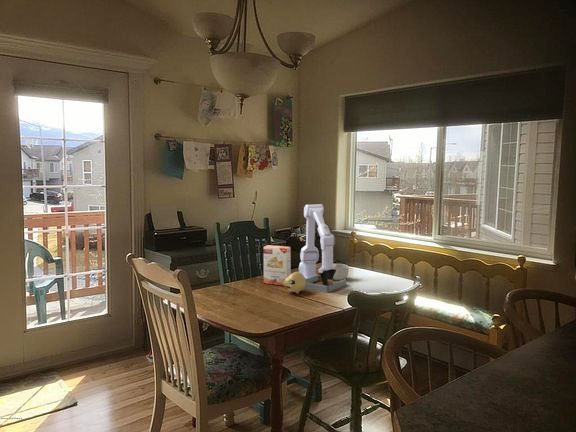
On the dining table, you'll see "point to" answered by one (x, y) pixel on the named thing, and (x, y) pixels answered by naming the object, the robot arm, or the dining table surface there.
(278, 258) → the cracker box
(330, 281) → the walnut block
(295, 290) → the yellow lumpy rounded piece
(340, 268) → the teacup
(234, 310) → the dining table surface
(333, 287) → the gray open frame
